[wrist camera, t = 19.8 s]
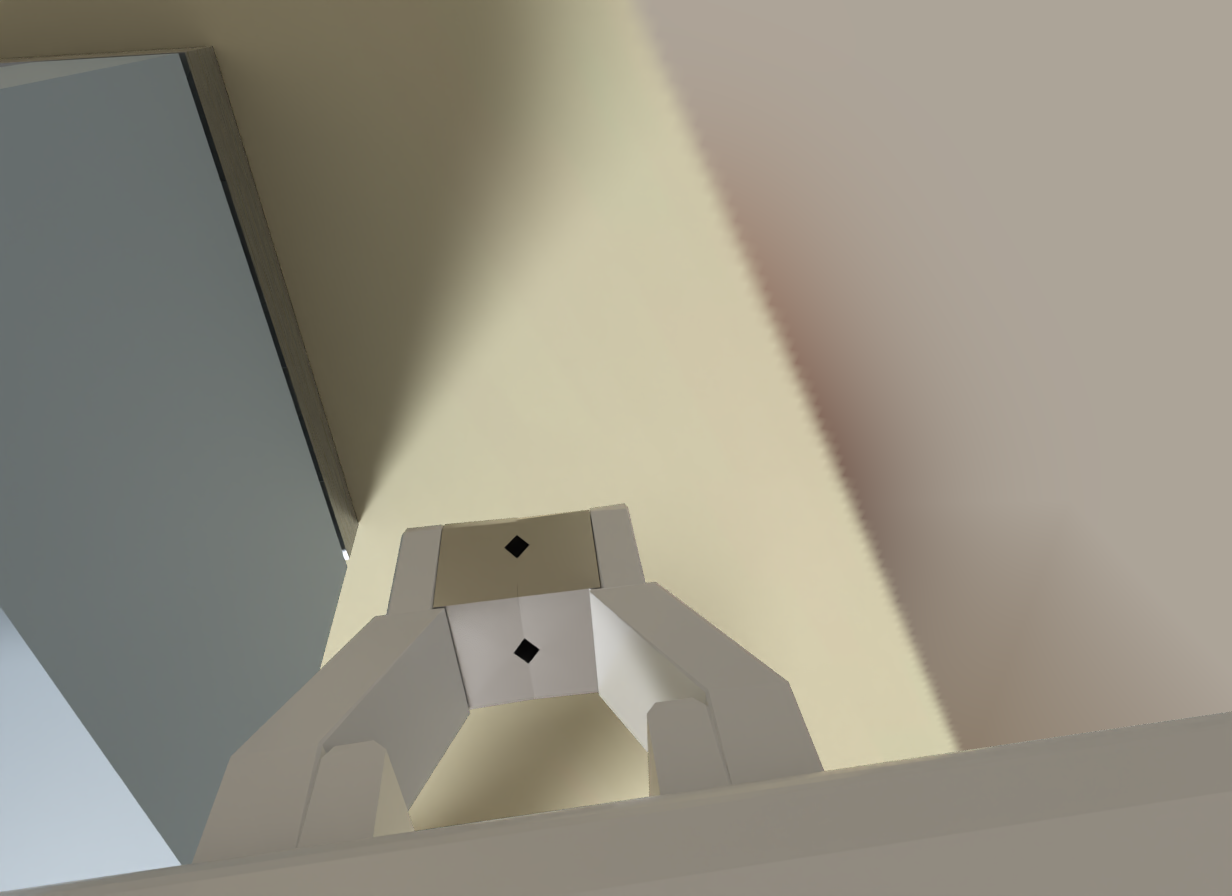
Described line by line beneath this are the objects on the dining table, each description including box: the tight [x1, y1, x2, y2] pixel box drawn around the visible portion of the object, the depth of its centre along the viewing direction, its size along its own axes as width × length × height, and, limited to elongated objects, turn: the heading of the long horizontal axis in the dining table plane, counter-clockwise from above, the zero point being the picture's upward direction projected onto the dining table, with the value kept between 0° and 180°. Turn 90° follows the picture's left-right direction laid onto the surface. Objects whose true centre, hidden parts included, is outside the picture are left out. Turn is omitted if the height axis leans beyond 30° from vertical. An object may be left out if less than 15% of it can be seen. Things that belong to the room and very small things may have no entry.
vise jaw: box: [0, 53, 347, 892], centre depth 12 cm, size 3×12×9 cm, turn 3°
